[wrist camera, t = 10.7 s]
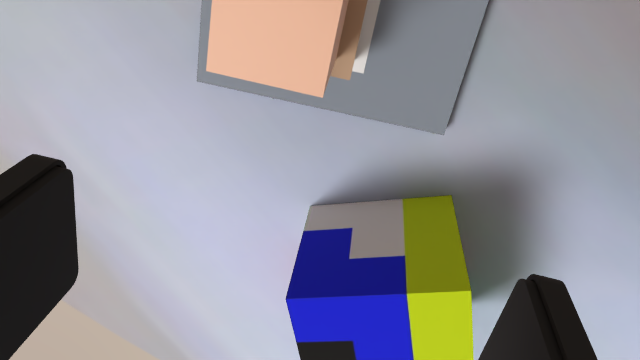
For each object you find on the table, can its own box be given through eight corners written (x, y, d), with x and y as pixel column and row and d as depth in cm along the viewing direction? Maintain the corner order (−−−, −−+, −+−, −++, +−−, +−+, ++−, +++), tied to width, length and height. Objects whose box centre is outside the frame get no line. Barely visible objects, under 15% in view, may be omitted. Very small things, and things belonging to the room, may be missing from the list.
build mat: (509, -75, 27) (513, -75, 26) (442, 128, 33) (444, 135, 32) (216, -137, 27) (210, -138, 26) (201, 76, 33) (196, 81, 32)
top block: (358, -44, 24) (348, -29, 19) (336, 59, 26) (322, 97, 21) (254, -68, 24) (217, -59, 19) (242, 37, 26) (205, 70, 21)
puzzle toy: (310, 205, 37) (285, 298, 28) (451, 194, 35) (471, 290, 26) (330, 309, 42) (315, 417, 33) (456, 304, 40) (475, 417, 31)
